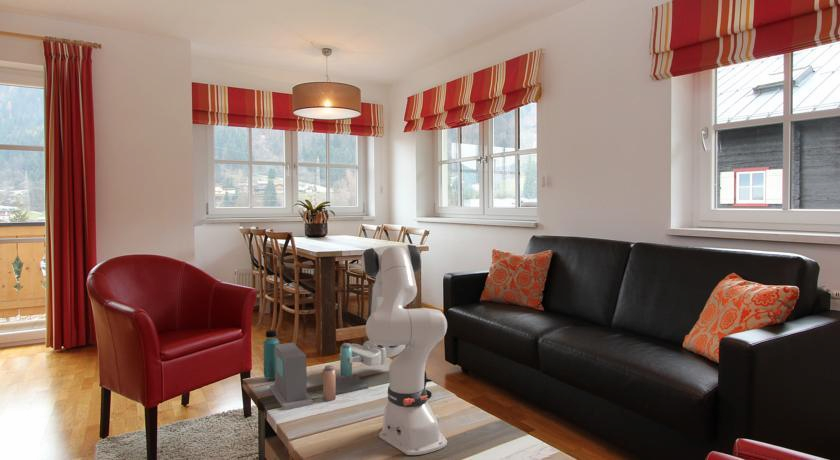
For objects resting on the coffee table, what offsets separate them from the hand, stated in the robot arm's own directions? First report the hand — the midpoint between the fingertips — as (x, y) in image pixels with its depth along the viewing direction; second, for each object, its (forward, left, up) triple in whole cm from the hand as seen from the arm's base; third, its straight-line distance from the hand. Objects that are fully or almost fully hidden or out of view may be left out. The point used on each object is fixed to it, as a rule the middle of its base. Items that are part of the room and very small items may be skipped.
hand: (344, 358), depth 194 cm
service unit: (0, +21, -11) cm, 24 cm away
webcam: (-23, -22, -11) cm, 34 cm away
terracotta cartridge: (-9, +9, -11) cm, 17 cm away
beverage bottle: (+21, +23, -11) cm, 33 cm away
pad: (0, -1, -11) cm, 11 cm away
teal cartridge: (0, -1, -6) cm, 7 cm away
